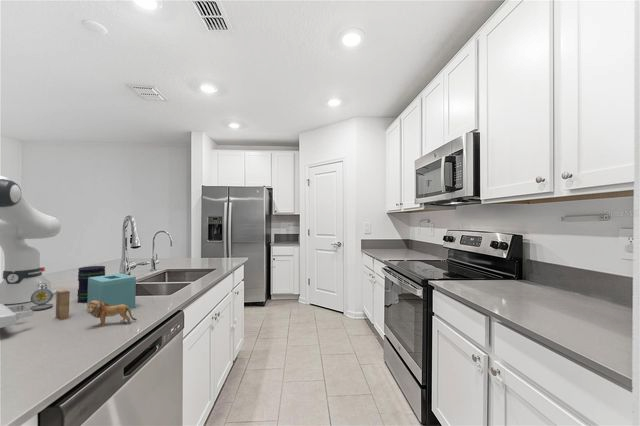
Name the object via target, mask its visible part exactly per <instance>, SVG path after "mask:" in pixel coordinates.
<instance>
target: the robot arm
mask: <svg viewBox="0 0 640 426" xmlns="http://www.w3.org/2000/svg"><path fill="white" fill-rule="evenodd" d="M61 229H62V225H61V222H60V220H59V219H58V218H57V217H54V216H52V215H49V214H45V213H44V212H41V211H40V210H38V209H36V208H34V207H33V206H32V205H30V203H29V202H28V201H27V200H26V198H25V196H24V194H22V189H21V187H20V185H19V184H18V183H16V182H15V181H14V180H11V179H9V178H8V177H6V176H3V175H0V248H1V250H2V252H3V255H4V256H3V257H4V270H3V271H2V279H3V281H1V282H0V329H1V328H6V327H7V328H8V327H11V326H14V325H16V322H17V321H18V320H20V319H23V318H26V317H30V316H33V315H34V310H31V309H26V308H27V306H26V304H23V303H29V302H32V301H31V295H32V294H33V293H34V292H35V291H37V290H39V289H41V287H39V286H41V285H43V286H44V287H43V289H49V290H50V291H51V292H52V294H53V295H55V294H56V292H57V291H58V290H57V289H52V282H51V281H50V280H49V279H47V278H46V277H45V276H44V275H43V272H45V271H46V268H45V267H40V262H41V260H40V259H41V253H40V251H39V250H38V249H37V248H35V247H33V246H30V245H28V244H27V243H26V241H25V240H31V239H32V240H33V239H34V240H38V239H39V240H41V239H48V238H53V237H56V236H57V235H58V234H59V233H60V231H61ZM40 283H42V284H40ZM44 283H46V284H47V285H46V284H44ZM38 284H40V285H39V286H38ZM45 285H46V286H45ZM45 296H47V297H48V295H47V294H45ZM47 297H45V298H47ZM36 299H37V298H36ZM38 301H42V300H41V299H40V298H39V300H38ZM14 304H19V305H14ZM20 304H21V305H20ZM6 305H8V306H6Z"/></svg>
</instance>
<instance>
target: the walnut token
mask: <svg viewBox="0 0 640 426" xmlns="http://www.w3.org/2000/svg"><path fill="white" fill-rule="evenodd" d="M70 293H71V291H69V290H67V289H61V290H57V292H56V293H55V294H56V297H55V318H56V319H57V320H59V321H62V320H66V319H69V318H70Z"/></svg>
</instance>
